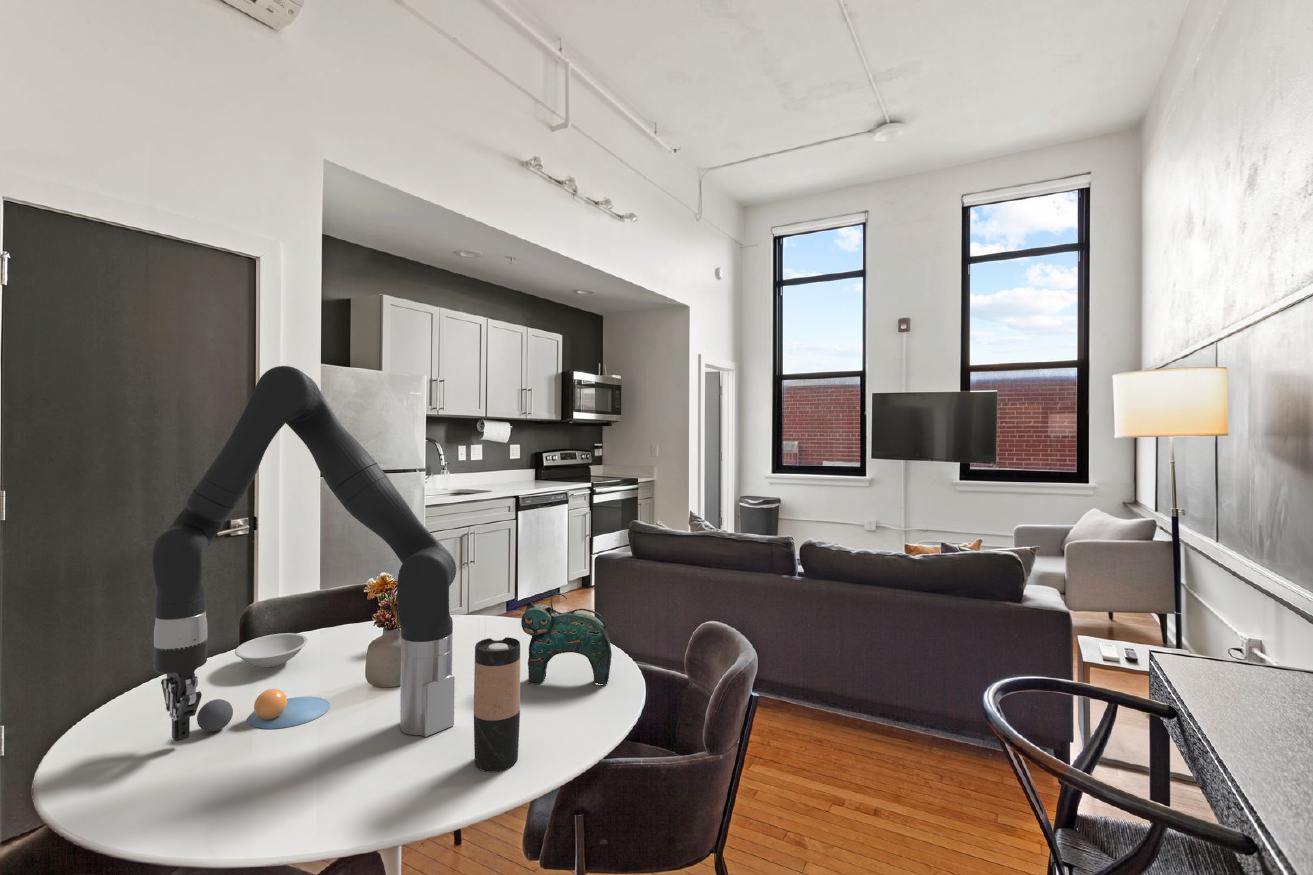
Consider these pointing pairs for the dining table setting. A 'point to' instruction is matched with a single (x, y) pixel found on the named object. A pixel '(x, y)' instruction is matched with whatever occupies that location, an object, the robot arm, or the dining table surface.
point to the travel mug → (496, 703)
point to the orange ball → (270, 704)
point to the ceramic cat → (565, 639)
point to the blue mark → (293, 713)
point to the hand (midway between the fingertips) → (180, 738)
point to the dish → (271, 649)
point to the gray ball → (214, 715)
